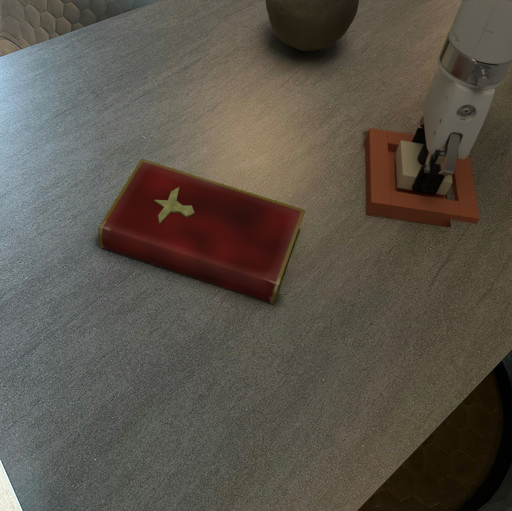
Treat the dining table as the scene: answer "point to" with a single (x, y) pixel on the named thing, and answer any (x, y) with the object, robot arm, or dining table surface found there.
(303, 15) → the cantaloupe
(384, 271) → the dining table surface
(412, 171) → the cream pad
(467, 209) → the base pad
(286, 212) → the hardcover book
